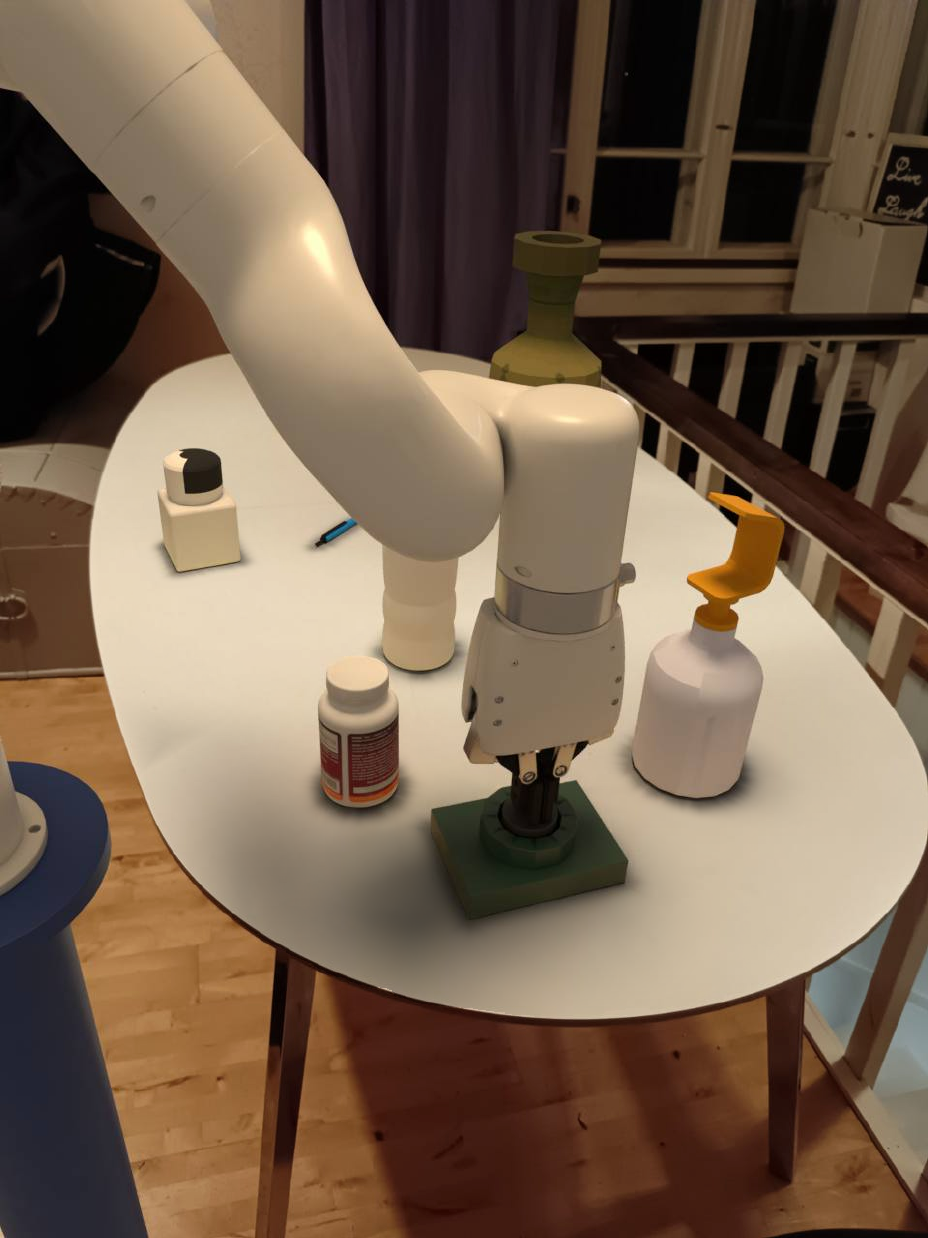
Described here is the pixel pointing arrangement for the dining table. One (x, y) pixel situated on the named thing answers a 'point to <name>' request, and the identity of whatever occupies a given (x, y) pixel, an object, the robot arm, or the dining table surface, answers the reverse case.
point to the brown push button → (525, 823)
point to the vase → (550, 312)
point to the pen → (336, 531)
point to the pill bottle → (359, 732)
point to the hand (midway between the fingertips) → (532, 810)
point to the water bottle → (418, 611)
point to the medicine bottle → (197, 511)
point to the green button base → (525, 853)
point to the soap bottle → (708, 671)
